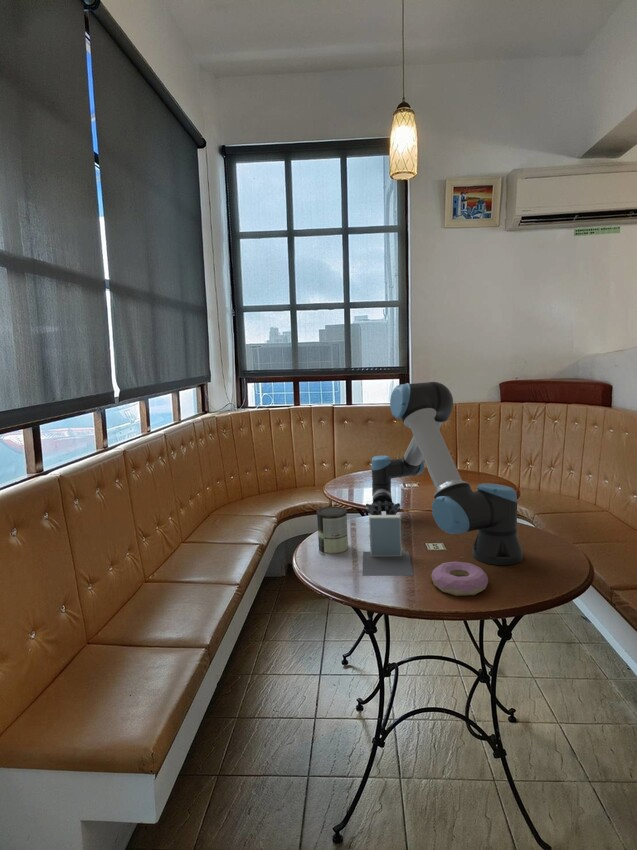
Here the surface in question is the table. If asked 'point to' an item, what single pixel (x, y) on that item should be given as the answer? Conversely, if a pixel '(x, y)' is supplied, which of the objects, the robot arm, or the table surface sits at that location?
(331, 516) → the coffee can
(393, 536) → the tile
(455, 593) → the donut
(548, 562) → the table surface
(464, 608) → the table surface
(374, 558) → the mat
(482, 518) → the robot arm
